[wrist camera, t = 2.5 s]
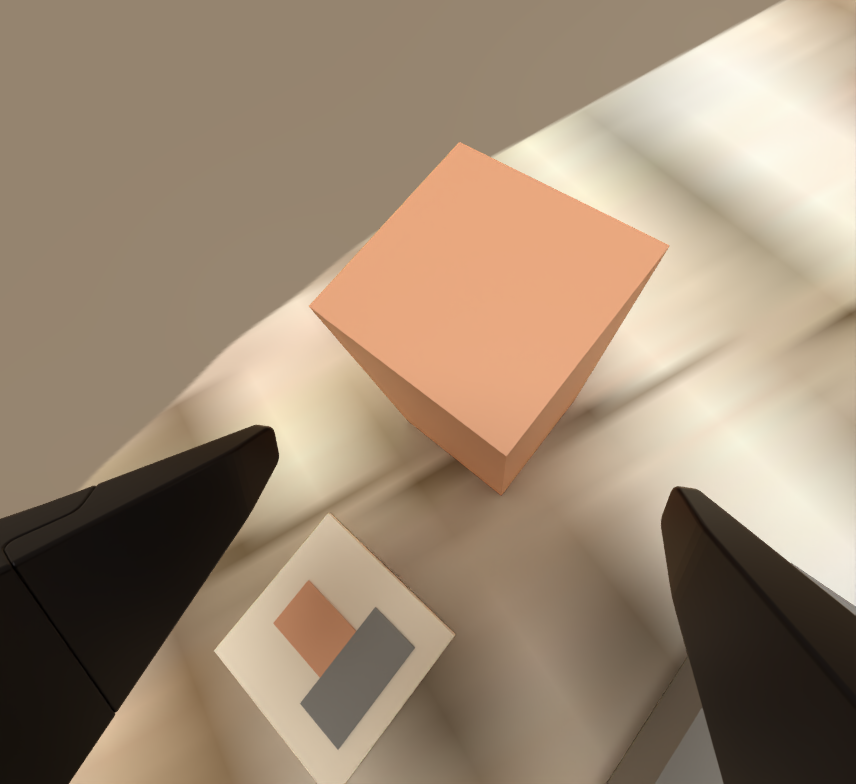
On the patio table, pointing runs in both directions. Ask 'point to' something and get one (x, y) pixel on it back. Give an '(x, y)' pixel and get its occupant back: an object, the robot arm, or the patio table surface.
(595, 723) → the patio table surface
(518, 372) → the terracotta block
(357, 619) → the card
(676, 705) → the slate base block
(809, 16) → the patio table surface
